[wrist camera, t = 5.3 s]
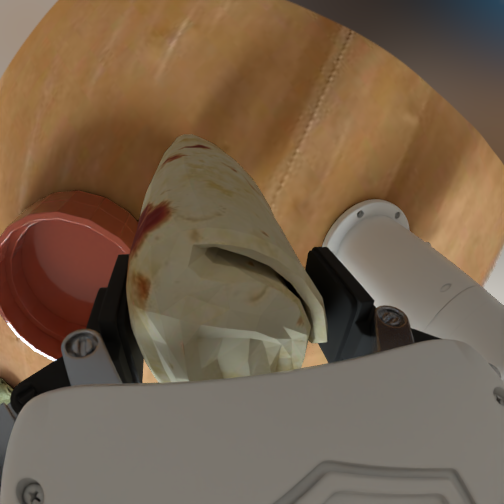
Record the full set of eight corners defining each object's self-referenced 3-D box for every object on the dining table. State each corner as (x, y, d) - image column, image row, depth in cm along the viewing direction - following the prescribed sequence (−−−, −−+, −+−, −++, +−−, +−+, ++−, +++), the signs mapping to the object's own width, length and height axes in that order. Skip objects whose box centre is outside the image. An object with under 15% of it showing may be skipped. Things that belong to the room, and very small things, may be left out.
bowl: (155, 182, 25) (149, 204, 20) (167, 329, 33) (169, 368, 28) (-1, 198, 21) (-32, 222, 16) (39, 330, 29) (26, 365, 24)
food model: (147, 143, 22) (34, 277, 5) (225, 118, 23) (351, 175, 5) (182, 244, 27) (196, 462, 10) (252, 222, 27) (352, 417, 10)
